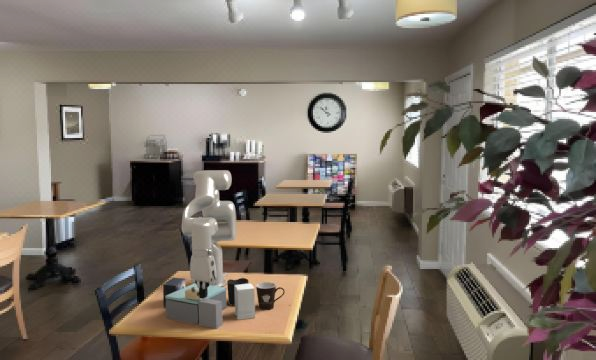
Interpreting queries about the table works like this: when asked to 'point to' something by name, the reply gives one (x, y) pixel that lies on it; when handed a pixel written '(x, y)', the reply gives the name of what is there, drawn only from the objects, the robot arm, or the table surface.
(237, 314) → the supplement box
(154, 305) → the table surface
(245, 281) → the pen holder
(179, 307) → the storage box
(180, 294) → the lid
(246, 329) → the table surface
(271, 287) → the coffee mug
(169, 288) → the small box
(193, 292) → the latch bolt
